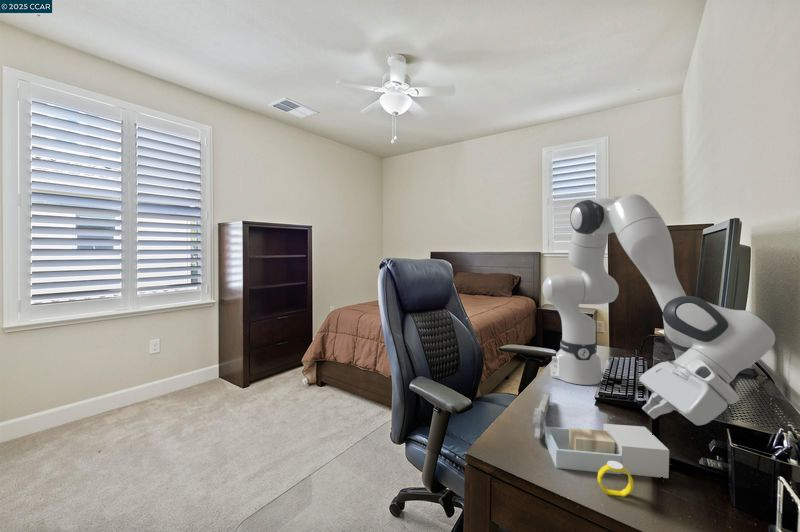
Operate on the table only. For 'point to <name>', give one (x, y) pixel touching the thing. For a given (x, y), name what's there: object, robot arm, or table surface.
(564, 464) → the tray
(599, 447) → the block
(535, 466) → the table surface
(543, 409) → the wrench
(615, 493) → the watch
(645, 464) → the riser
